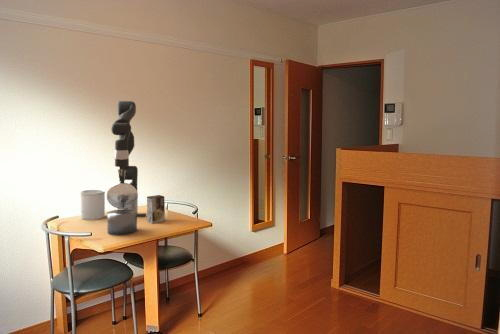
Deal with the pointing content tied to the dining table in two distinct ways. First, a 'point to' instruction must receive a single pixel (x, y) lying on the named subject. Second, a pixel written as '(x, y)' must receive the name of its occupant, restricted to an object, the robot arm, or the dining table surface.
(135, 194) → the pot lid
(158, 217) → the coffee box
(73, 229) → the dining table surface
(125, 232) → the steel pot
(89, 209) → the utensil holder
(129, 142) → the robot arm
